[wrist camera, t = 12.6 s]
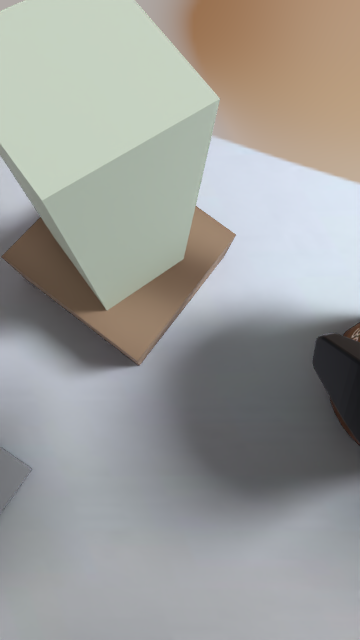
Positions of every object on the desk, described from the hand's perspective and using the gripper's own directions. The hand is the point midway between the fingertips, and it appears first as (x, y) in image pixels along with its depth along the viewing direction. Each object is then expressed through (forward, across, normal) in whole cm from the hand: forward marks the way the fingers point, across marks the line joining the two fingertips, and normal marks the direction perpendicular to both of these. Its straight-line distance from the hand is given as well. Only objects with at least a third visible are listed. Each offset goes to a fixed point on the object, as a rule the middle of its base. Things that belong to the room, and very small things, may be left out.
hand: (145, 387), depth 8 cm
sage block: (+12, 0, +1) cm, 12 cm away
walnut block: (+14, 0, +3) cm, 14 cm away
